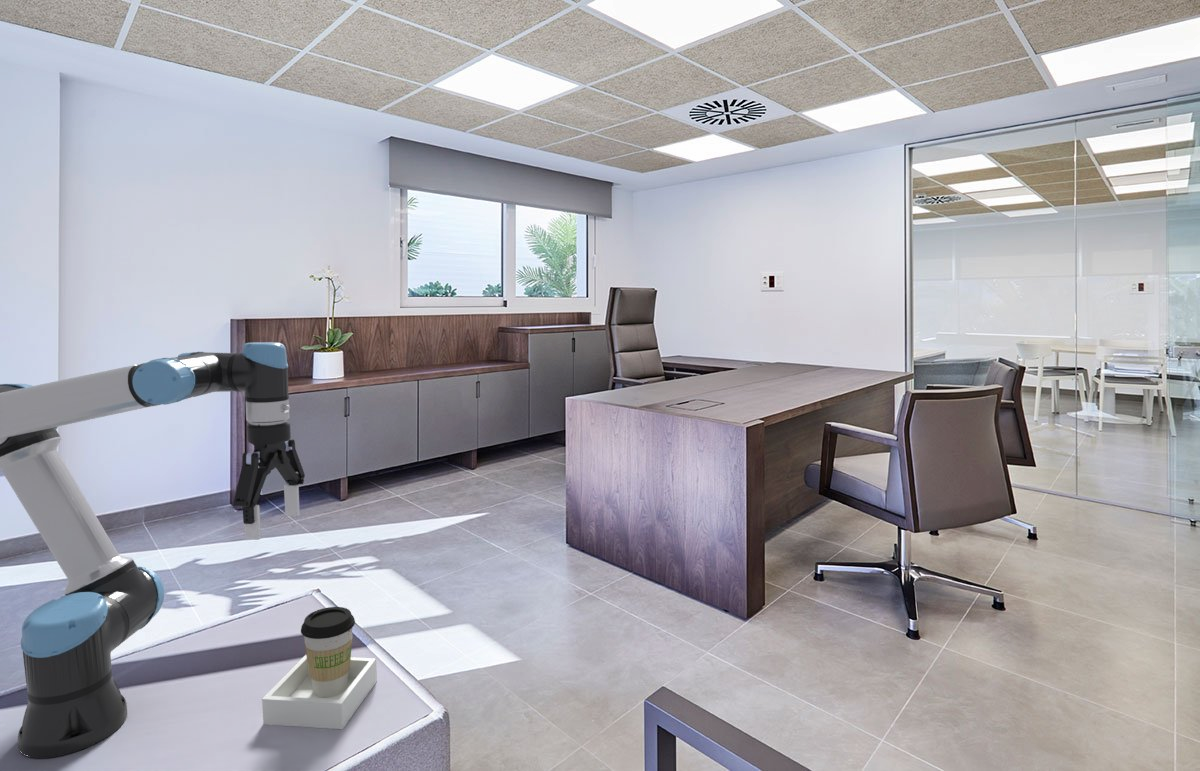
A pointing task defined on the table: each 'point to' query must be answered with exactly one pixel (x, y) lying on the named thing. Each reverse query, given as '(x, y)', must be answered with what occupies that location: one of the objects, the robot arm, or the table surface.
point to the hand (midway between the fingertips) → (273, 526)
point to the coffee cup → (328, 649)
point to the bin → (304, 709)
